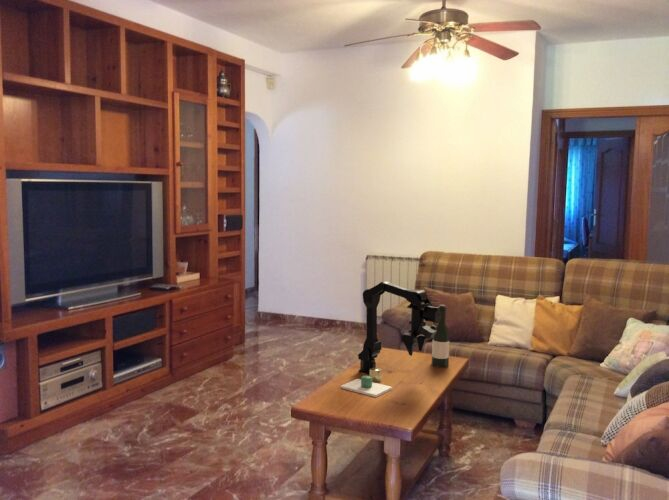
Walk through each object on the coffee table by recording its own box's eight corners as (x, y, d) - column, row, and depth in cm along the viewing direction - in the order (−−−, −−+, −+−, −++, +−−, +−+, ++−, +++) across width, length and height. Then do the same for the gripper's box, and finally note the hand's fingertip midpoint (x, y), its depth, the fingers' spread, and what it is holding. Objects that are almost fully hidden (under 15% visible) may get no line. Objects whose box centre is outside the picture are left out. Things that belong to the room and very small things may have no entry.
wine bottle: (449, 363, 307) (452, 304, 304) (447, 368, 300) (449, 307, 296) (433, 361, 310) (435, 302, 307) (430, 366, 302) (432, 305, 299)
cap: (366, 380, 278) (367, 370, 277) (373, 377, 282) (373, 367, 282) (377, 383, 275) (377, 372, 274) (383, 380, 279) (383, 369, 279)
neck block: (340, 388, 267) (341, 376, 267) (357, 380, 278) (357, 369, 277) (376, 397, 257) (376, 385, 256) (392, 389, 267) (392, 378, 267)
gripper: (424, 325, 260) (422, 361, 262) (443, 318, 275) (441, 352, 277) (401, 321, 267) (399, 356, 269) (421, 314, 282) (419, 347, 284)
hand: (415, 353), depth 274 cm, fingers open, 9 cm apart
